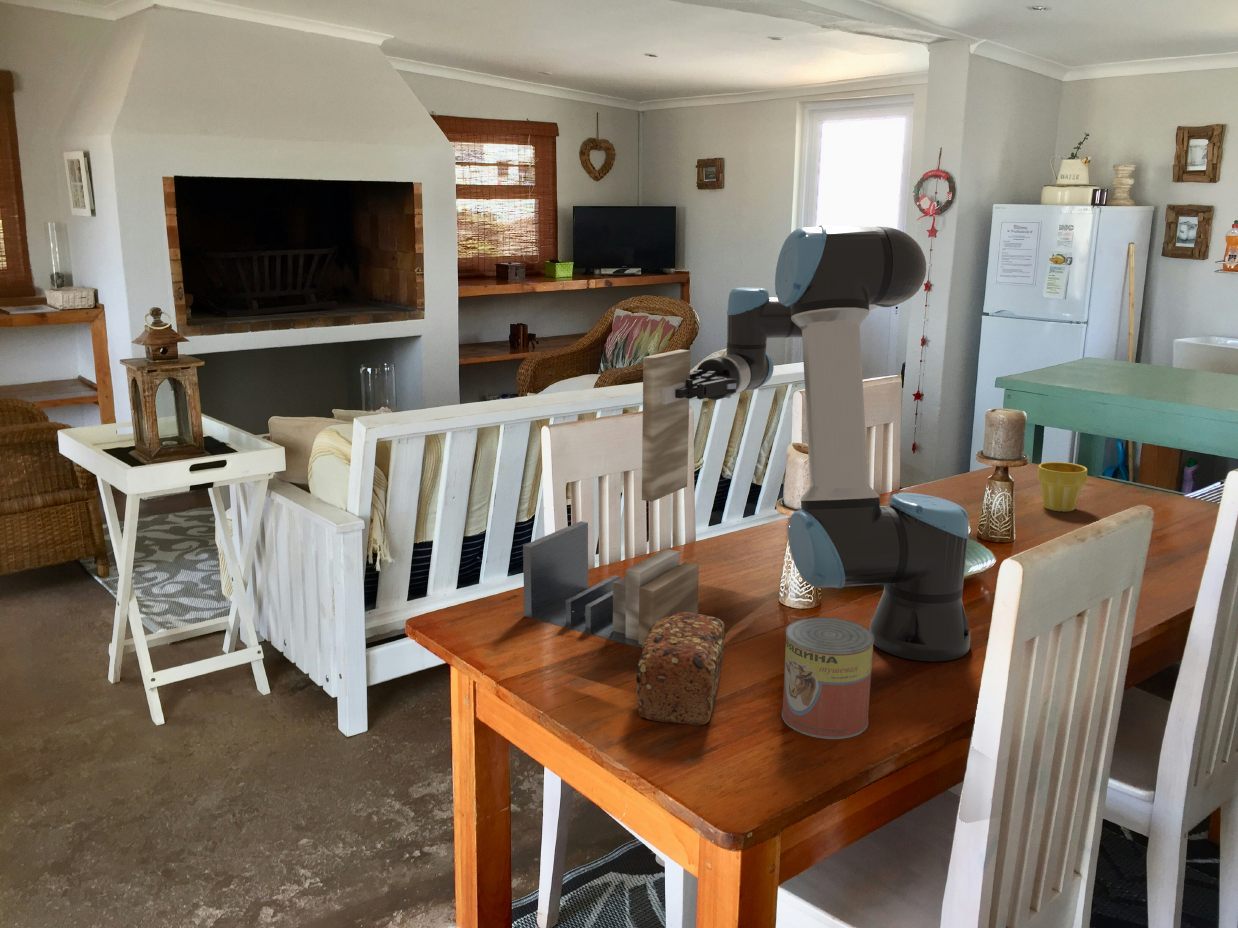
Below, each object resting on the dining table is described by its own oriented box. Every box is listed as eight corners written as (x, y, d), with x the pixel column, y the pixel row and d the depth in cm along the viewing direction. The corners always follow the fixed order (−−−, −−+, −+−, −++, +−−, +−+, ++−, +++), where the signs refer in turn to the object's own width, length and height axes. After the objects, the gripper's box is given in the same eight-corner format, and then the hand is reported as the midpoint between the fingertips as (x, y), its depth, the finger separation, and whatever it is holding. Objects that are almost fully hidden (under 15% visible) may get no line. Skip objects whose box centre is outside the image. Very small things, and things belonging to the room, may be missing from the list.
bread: (712, 730, 130) (714, 658, 128) (631, 721, 133) (632, 651, 130) (726, 668, 148) (728, 605, 146) (655, 662, 150) (655, 599, 148)
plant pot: (1026, 507, 232) (1030, 466, 229) (1046, 499, 239) (1050, 459, 236) (1071, 517, 224) (1076, 474, 222) (1090, 508, 231) (1095, 467, 229)
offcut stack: (697, 617, 163) (699, 553, 160) (652, 647, 151) (653, 578, 149) (652, 606, 167) (653, 543, 165) (605, 634, 156) (605, 567, 153)
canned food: (764, 712, 135) (767, 629, 132) (823, 690, 141) (827, 610, 138) (826, 748, 126) (831, 659, 123) (886, 723, 132) (892, 638, 129)
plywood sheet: (687, 486, 177) (690, 350, 171) (651, 501, 167) (653, 358, 162) (677, 484, 178) (680, 349, 173) (641, 499, 168) (643, 357, 163)
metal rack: (707, 625, 163) (709, 546, 160) (656, 660, 150) (657, 575, 147) (581, 594, 177) (580, 521, 173) (524, 624, 164) (522, 545, 160)
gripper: (758, 401, 182) (695, 422, 163) (685, 393, 190) (617, 412, 171) (760, 360, 180) (696, 376, 161) (686, 353, 188) (617, 368, 169)
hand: (656, 395), depth 166 cm, fingers closed on plywood sheet, 2 cm apart
